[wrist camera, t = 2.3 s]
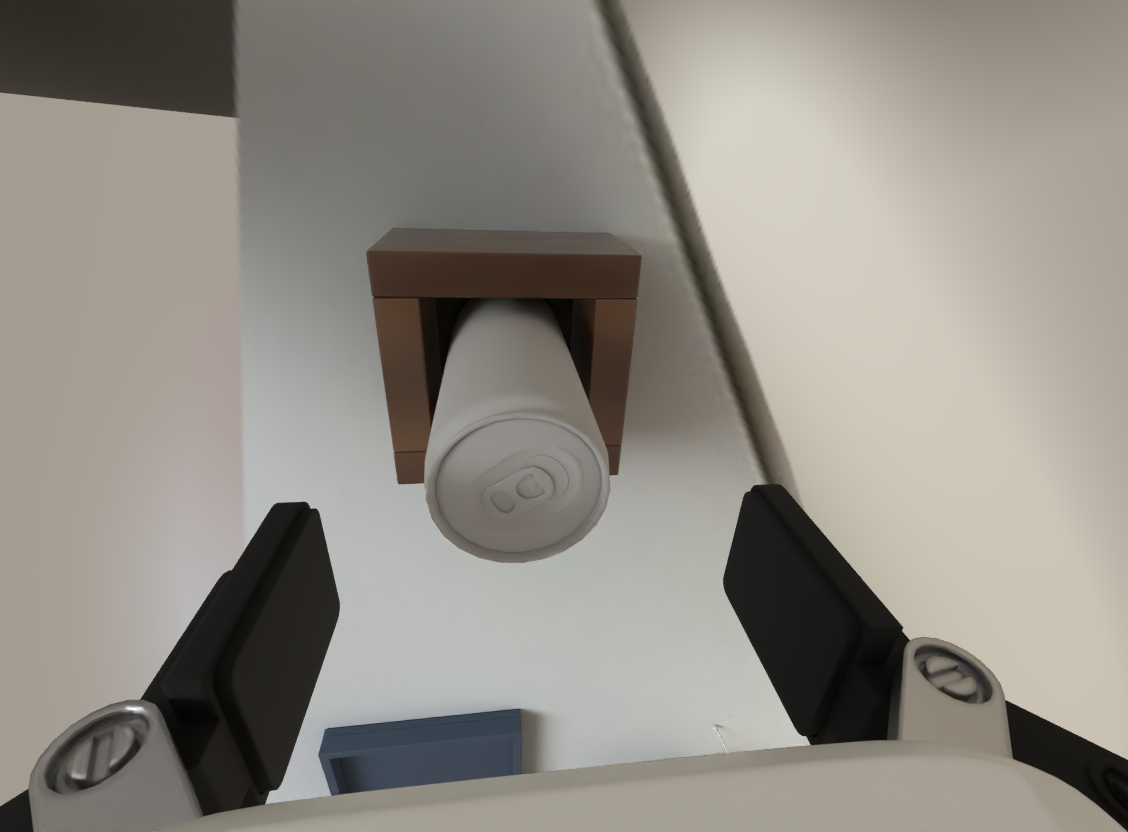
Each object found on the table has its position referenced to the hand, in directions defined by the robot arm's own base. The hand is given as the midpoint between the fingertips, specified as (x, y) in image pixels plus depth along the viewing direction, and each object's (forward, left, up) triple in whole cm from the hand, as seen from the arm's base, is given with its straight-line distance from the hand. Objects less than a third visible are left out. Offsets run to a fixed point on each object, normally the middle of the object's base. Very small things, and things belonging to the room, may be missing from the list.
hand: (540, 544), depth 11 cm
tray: (+34, -6, -14) cm, 37 cm away
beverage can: (0, 0, -14) cm, 14 cm away
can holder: (0, 0, -14) cm, 14 cm away
